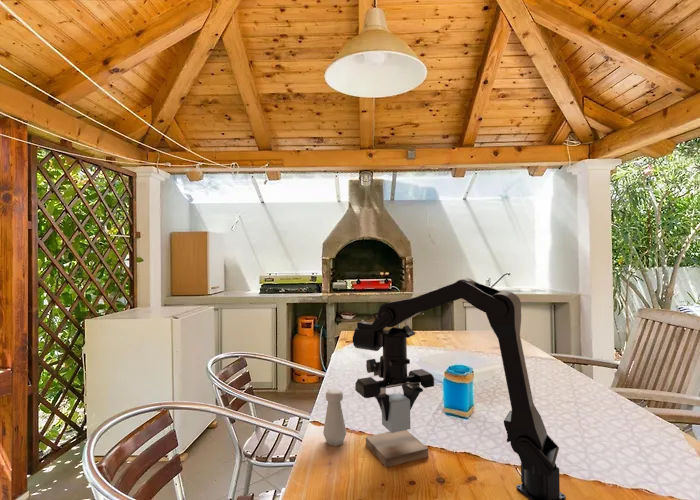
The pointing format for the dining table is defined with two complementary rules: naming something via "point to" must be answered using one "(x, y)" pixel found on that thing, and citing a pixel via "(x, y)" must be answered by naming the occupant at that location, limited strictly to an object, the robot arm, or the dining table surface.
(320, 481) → the dining table surface
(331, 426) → the salt shaker
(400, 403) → the slate block
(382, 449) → the walnut plinth
